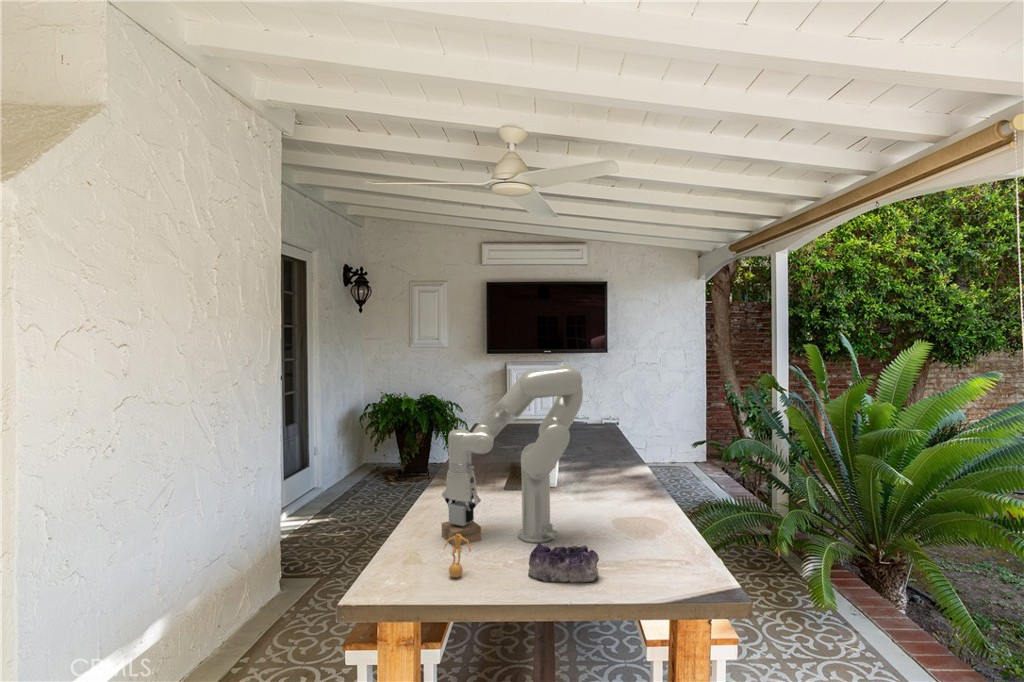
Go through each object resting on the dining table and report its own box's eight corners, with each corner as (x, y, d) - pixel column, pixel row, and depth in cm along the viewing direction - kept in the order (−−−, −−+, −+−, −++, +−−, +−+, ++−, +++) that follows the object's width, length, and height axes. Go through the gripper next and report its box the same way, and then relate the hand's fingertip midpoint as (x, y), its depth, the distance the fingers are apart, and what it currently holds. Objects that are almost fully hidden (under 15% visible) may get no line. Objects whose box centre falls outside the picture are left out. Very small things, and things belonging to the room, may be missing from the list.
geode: (529, 588, 156) (527, 551, 157) (527, 574, 168) (525, 540, 168) (602, 583, 156) (599, 546, 157) (595, 570, 168) (593, 536, 169)
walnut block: (481, 541, 189) (480, 526, 189) (453, 547, 184) (453, 532, 184) (468, 531, 198) (468, 517, 197) (441, 537, 193) (441, 523, 192)
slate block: (473, 520, 191) (473, 502, 191) (463, 526, 186) (463, 508, 186) (459, 517, 195) (459, 500, 194) (448, 522, 189) (448, 505, 189)
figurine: (439, 578, 162) (439, 537, 161) (446, 569, 168) (446, 529, 167) (467, 581, 160) (466, 540, 159) (473, 571, 166) (473, 531, 165)
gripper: (487, 467, 188) (488, 520, 189) (446, 461, 197) (447, 511, 198) (475, 473, 182) (476, 527, 183) (432, 466, 191) (434, 518, 192)
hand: (461, 518), depth 190 cm, fingers closed on slate block, 5 cm apart
